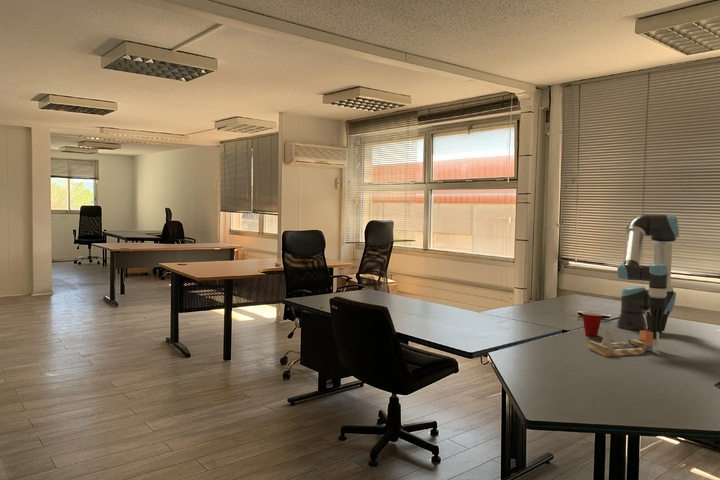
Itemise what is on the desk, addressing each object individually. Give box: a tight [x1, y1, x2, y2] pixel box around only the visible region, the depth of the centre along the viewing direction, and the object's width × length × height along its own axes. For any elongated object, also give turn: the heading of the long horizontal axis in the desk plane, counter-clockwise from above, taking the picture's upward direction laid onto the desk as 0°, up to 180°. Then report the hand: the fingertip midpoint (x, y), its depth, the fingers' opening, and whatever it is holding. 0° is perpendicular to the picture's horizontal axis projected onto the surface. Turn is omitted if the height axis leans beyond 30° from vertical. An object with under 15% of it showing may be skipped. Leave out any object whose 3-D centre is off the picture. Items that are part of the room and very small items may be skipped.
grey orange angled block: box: [612, 329, 654, 352], centre depth 256 cm, size 20×4×9 cm, turn 102°
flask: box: [601, 330, 613, 350], centre depth 253 cm, size 7×7×10 cm
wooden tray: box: [587, 338, 647, 357], centre depth 255 cm, size 23×12×4 cm, turn 102°
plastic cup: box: [581, 311, 604, 337], centre depth 288 cm, size 11×11×12 cm
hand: (655, 345), depth 259 cm, fingers closed
